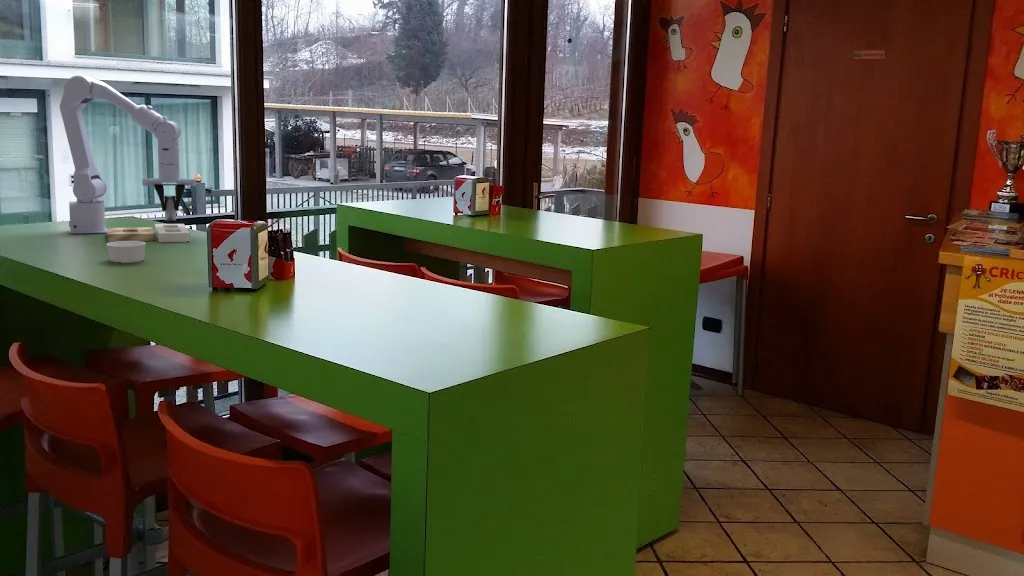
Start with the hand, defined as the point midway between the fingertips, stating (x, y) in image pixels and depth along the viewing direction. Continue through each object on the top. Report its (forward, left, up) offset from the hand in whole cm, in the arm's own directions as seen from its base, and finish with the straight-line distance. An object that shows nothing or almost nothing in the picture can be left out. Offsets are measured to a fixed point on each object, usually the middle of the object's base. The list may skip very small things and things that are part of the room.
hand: (170, 210), depth 264 cm
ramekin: (-13, -39, -7) cm, 42 cm away
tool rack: (0, -4, -7) cm, 8 cm away
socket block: (-11, -4, -7) cm, 14 cm away
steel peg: (0, 0, -3) cm, 3 cm away
